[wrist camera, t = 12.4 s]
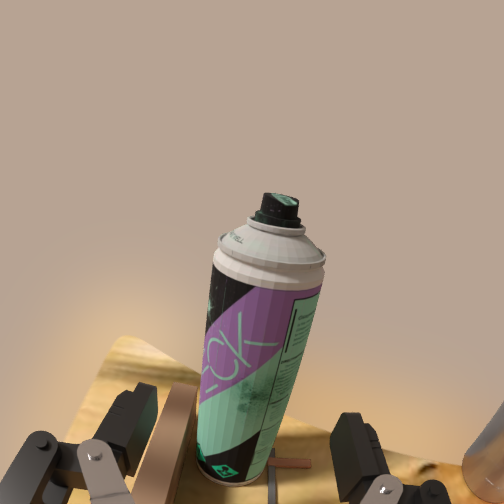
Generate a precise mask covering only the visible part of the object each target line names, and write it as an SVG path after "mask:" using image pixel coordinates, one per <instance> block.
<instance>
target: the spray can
mask: <svg viewBox="0 0 504 504" xmlns="http://www.w3.org/2000/svg"><path fill="white" fill-rule="evenodd" d="M298 207H299V200H298V199H296V198H293V197H289V196H285V195H281V194H276V193H264V195H263V200H262V204H261V209H260V210H258V211H256V212H255V216H250V217H248V218H247V224H246V225H244V226H241V227H239V228H237V229H235V230H233V231H232V232H228V233H224V234H222V235H220V236H219V238H218V247H219V248H218V249H217V250H216V252H215V253H214V259H213V267H212V276H211V284H210V293H209V303H208V311H207V321H206V331H205V342H204V352H203V364H202V375H201V387H200V400H199V414H198V429H197V445H196V462H197V466H198V468H199V470H200V471H201V472H202V474H203V475H204V476H205V477H207V478H208V479H209V480H211V481H213V482H215V483H217V484H220V485H224V486H232V487H237V486H243V485H246V484H249V483H251V482H253V481H255V480H256V479H257V478H258V477H259V476H260V475H261V473H262V472H263V470H264V467H265V465H266V462H267V460H268V457H269V454H270V452H271V449H272V446H273V444H274V441H275V438H276V436H277V433H278V430H279V427H280V424H281V421H282V419H283V416H284V413H285V410H286V407H287V404H288V401H289V398H290V395H291V392H292V389H293V385H294V382H295V379H296V376H297V372H298V369H299V366H300V363H301V360H302V356H303V353H304V349H305V346H306V342H307V339H308V335H309V332H310V328H311V325H312V321H313V317H314V314H315V310H316V306H317V302H318V298H319V294H320V290H321V286H322V282H323V278H324V273H325V272H324V269H323V267H322V266H323V265H324V264H325V260H326V255H325V253H324V252H323V251H321V250H320V249H318V248H317V247H316V246H315V245H314V244H313V242H312V241H311V240H310V239H308V237H307V236H305V235H304V233H305V230H306V228H305V227H304V226H303V225H301V224H300V222H301V219H300V218H298V217H297V214H298Z"/></svg>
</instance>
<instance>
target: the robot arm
mask: <svg viewBox="0 0 504 504" xmlns="http://www.w3.org/2000/svg"><path fill="white" fill-rule="evenodd" d="M157 415H158V401H157V387H156V386H152V385H149V384H145V383H141V382H139V383H138V384H137V386H136V388H135V390H134V392H131V391H128V390H125V391H124V392H122V393H121V394H119V395H118V396H117V397H116V399H115V401H114V402H113V404H112V406H111V407H110V409H109V411H108V413H107V414H106V416H105V418H104V419H103V421H102V423H101V424H100V426H99V428H98V430H97V431H96V433H95V435H94V436H93V438H92V439H89V440H86V441H84V442H82V443H81V444H70V443H64V442H58V441H57V440H56V438H55V437H54V436H53V435H52V434H51V433H49V432H46V431H36V432H33V433H32V434H30V435H29V436H28V438H27V439H26V441H25V443H24V444H23V446H22V448H21V449H20V451H19V452H18V454H17V456H16V457H15V459H14V461H13V462H12V464H11V465H10V467H9V469H8V471H7V472H6V474H5V476H4V477H3V479H2V481H1V483H0V504H67V503H68V500H69V498H70V495H71V493H72V490H73V488H77V489H84V490H88V491H89V494H90V501H91V504H135V502H134V500H133V498H132V496H131V494H130V492H129V490H128V488H127V486H126V484H125V482H124V479H125V477H126V475H128V476H131V477H134V475H135V473H136V470H137V468H138V465H139V463H140V460H141V458H142V455H143V452H144V450H145V447H146V445H147V442H148V440H149V437H150V435H151V432H152V430H153V427H154V425H155V422H156V419H157ZM330 449H331V455H332V460H333V465H334V471H335V476H336V482H337V488H338V494H339V500H340V502H349V504H451V501H450V498H449V496H448V493H447V490H446V487H445V486H444V485H443V483H441V482H440V481H437V480H428V481H425V482H424V483H423V484H422V485H421V486H414V485H405V484H402V482H401V481H400V480H399V479H398V478H397V477H395V476H393V475H391V474H390V472H389V469H388V466H387V463H386V460H385V457H384V454H383V451H382V449H381V445H380V442H379V439H378V436H377V434H376V431H375V430H374V429H373V428H372V427H371V425H370V424H368V423H364V422H363V419H362V417H361V414H360V413H342V414H341V416H340V418H339V420H338V422H337V424H336V426H335V428H334V430H333V431H332V433H331V436H330ZM462 471H463V476H464V479H465V481H466V483H467V485H468V487H469V488H470V489H471V491H472V492H473V493H474V494H475V495H476V496H478V497H479V498H481V499H483V500H484V501H487V502H491V503H502V502H504V402H503V403H502V404H501V406H500V408H499V409H498V410H497V412H496V414H495V415H494V416H493V418H492V419H491V421H490V422H489V423H488V424H487V426H486V427H485V429H484V430H483V431H482V433H481V434H480V435H479V436H478V438H477V439H476V440H475V442H474V443H473V444H472V445H471V446H470V448H469V449H468V450H467V452H466V453H465V455H464V458H463V463H462Z"/></svg>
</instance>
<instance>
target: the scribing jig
mask: <svg viewBox="0 0 504 504" xmlns="http://www.w3.org/2000/svg"><path fill="white" fill-rule="evenodd" d="M197 389H198V387H196V386H191V385H186V384H181V383H177V382H174V383H173V385H172V388H171V390H170V393H169V395H168V398H167V400H166V403H165V405H164V408H163V410H162V413H161V416H160V418H159V421H158V423H157V426H156V428H155V431H154V434H153V436H152V439H151V441H150V444H149V447H148V449H147V452H146V454H145V457H144V460H143V462H142V465H141V468H140V470H139V473H138V476H137V478H136V481H135V484H134V487H133V489H132V492H131V496H132V498H133V500H134V502H135V504H173V503H174V499H175V495H176V491H177V487H178V483H179V480H180V476H181V472H182V468H183V464H184V460H185V456H186V452H187V448H188V445H189V441H190V437H191V433H192V429H193V425H194V422H195V418H196V403H197ZM275 467H285V468H310V467H311V462H310V459H288V458H275V448H272V449H271V452H270V454H269V457H268V504H275Z"/></svg>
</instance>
